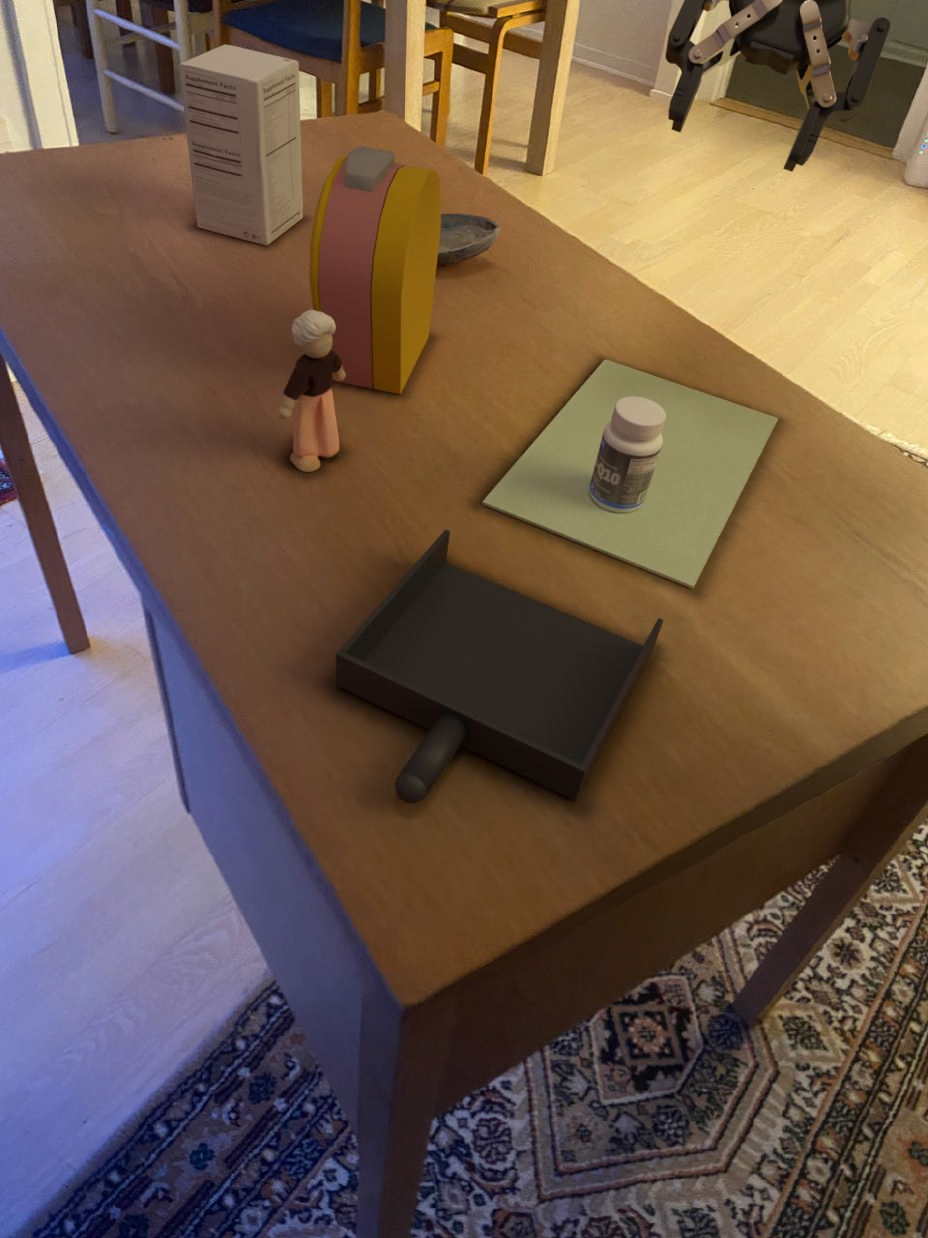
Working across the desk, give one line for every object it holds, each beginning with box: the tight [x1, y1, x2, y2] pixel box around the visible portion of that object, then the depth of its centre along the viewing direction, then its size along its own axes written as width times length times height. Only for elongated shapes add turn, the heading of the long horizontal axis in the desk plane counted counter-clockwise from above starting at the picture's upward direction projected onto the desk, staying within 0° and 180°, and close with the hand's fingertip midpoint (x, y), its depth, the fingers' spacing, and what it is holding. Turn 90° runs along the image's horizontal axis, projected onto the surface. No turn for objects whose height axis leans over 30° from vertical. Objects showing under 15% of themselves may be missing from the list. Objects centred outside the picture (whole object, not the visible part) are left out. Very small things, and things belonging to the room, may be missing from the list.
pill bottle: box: [589, 397, 666, 513], centre depth 72 cm, size 5×5×8 cm
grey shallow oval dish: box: [437, 213, 502, 266], centre depth 102 cm, size 15×12×5 cm
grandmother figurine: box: [277, 309, 346, 473], centre depth 71 cm, size 8×4×13 cm, turn 160°
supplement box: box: [178, 44, 304, 247], centre depth 99 cm, size 10×9×17 cm
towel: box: [481, 358, 779, 590], centre depth 79 cm, size 28×18×1 cm, turn 153°
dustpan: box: [335, 529, 665, 805], centre depth 57 cm, size 20×17×3 cm
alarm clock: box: [308, 146, 443, 395], centre depth 81 cm, size 15×8×18 cm, turn 168°
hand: (733, 146), depth 64 cm, fingers open, 8 cm apart
